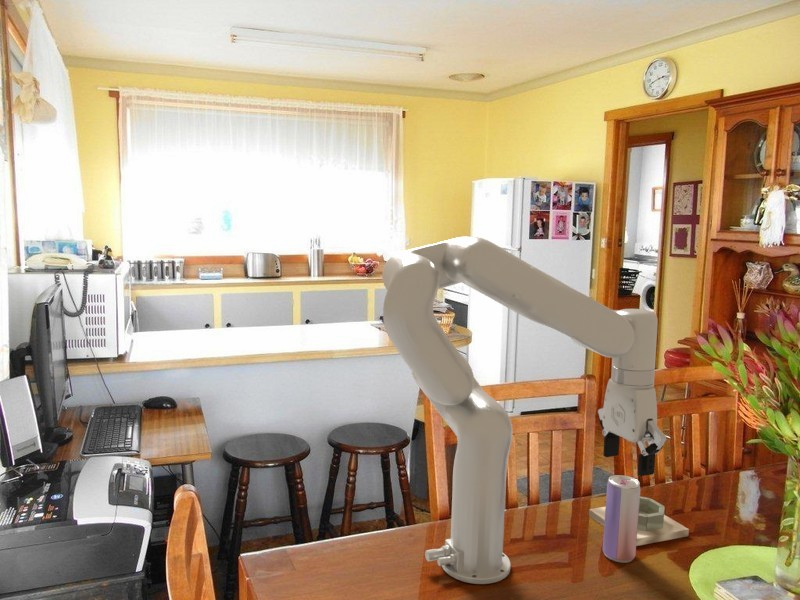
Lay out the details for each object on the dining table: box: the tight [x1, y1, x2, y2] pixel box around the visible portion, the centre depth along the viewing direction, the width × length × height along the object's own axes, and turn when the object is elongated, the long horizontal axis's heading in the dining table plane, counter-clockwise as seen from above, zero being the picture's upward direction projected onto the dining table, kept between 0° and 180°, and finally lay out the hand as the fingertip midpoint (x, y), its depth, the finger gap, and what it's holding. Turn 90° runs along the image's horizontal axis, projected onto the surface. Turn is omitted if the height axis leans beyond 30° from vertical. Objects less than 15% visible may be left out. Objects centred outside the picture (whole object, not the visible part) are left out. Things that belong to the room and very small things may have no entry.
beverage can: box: [602, 474, 641, 564], centre depth 124 cm, size 6×6×15 cm
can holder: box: [588, 495, 690, 547], centre depth 137 cm, size 14×14×4 cm
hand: (627, 465), depth 123 cm, fingers open, 9 cm apart
